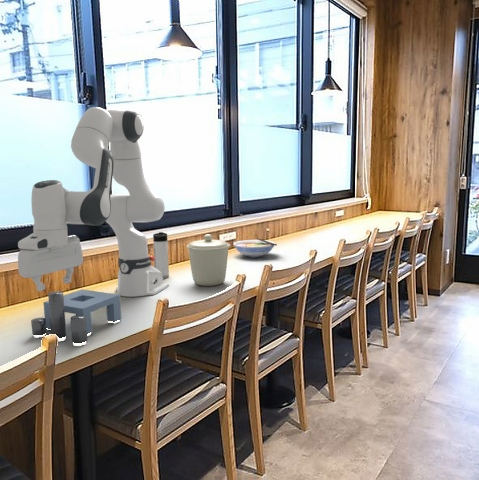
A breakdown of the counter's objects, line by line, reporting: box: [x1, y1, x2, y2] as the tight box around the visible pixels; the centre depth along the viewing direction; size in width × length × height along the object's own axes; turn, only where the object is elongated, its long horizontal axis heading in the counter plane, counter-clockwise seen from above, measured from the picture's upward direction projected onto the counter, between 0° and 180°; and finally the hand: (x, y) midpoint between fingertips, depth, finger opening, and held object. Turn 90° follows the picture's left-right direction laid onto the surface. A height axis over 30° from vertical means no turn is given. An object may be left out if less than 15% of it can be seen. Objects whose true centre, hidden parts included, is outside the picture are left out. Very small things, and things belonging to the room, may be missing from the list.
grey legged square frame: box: [43, 289, 122, 334], centre depth 147 cm, size 16×16×9 cm
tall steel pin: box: [47, 291, 67, 338], centre depth 135 cm, size 4×4×14 cm
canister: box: [186, 233, 231, 287], centre depth 196 cm, size 18×18×21 cm
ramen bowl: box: [233, 238, 277, 258], centre depth 253 cm, size 25×23×8 cm
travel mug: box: [152, 231, 170, 280], centre depth 208 cm, size 6×7×20 cm
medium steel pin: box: [70, 314, 88, 343], centre depth 132 cm, size 4×4×8 cm
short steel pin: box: [30, 317, 48, 335], centre depth 139 cm, size 4×4×5 cm
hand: (54, 286), depth 133 cm, fingers open, 8 cm apart
